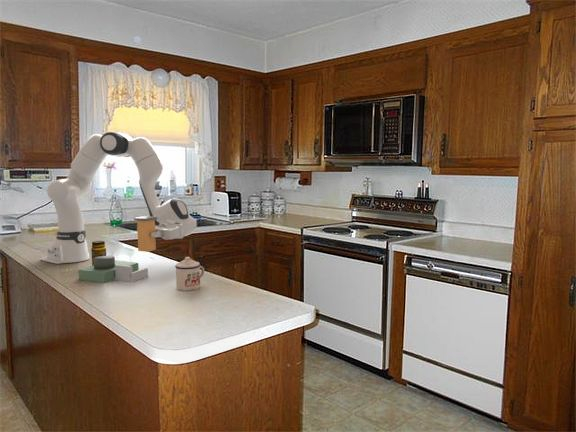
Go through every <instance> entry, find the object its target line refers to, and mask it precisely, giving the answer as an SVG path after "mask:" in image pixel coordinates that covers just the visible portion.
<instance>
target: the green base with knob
mask: <svg viewBox="0 0 576 432" xmlns="http://www.w3.org/2000/svg"><path fill="white" fill-rule="evenodd" d="M93 261H94V266H92V265H91V266H86V267H82V268H79V269H78V271H77V272H78V280H79V281H80V280H82V281H86V282H87V281H88V282H96V283H101V282H102V284H105V282H106V283H109V282H112V281H121V280H123V281H124V282H129V281H130V282H131V283H133V281H134V282H136V280H137V281H139V279H140V280H143V279H145V278H148V277H149V268H148V267H145V268H142V269H140V268H139V262H133V261H126V260H125V261H124V260H117V259H116V258H115V256H113V255H106V256H99V257H95V258H93ZM142 278H143V279H142ZM111 280H112V281H111ZM108 281H109V282H108ZM123 281H122V282H123Z"/></svg>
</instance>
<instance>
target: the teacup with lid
mask: <svg viewBox="0 0 576 432" xmlns="http://www.w3.org/2000/svg"><path fill="white" fill-rule="evenodd" d="M174 267H175V277H176V278H175V280H176V281H175V282H176V284H175V285H176V289H177V290H179V291H183V292H188V291H189V292H191V291H196V290H198V289H200V288H201V279H202V278H203V276H204V274H205V268H204V267H203V266H202V265H201V264H200V262H199V261H196V260H193V259H192V258H191V257H190V256H185V257H184V259H182V260H181V261H179V262H177V263H176V264H175V266H174ZM200 271H201V272H200Z"/></svg>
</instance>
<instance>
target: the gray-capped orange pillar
mask: <svg viewBox="0 0 576 432" xmlns="http://www.w3.org/2000/svg"><path fill="white" fill-rule="evenodd" d="M156 219H157V217H152V216H150V215H149V216H148V215H147V216H146V215H144V216H138V217H134V219H133V220H134V221H136V232H137V231H138V234H137V251H138V252H147V253H148V252H151V251H152V252H153V251H155V250H157V246H156V245H157V244H156V237H150V236H149V235H150V234H149V233H150V232H155V220H156Z"/></svg>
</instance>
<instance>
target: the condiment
mask: <svg viewBox="0 0 576 432" xmlns="http://www.w3.org/2000/svg"><path fill="white" fill-rule="evenodd" d="M90 250H91V253H90V254H91V266H94V261H93V258H95V257H99V256H107V247H106V242H105V241H104V240H94V241H92V242H91V249H90Z"/></svg>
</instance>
